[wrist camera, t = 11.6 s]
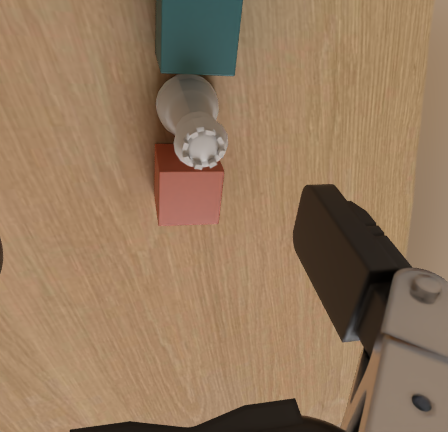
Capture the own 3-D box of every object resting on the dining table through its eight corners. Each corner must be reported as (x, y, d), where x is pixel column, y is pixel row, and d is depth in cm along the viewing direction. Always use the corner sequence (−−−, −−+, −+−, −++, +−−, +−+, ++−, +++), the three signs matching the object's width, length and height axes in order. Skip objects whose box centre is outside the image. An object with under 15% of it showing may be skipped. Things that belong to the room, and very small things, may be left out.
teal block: (155, -22, 26) (161, -13, 23) (227, -16, 27) (243, -6, 24) (155, 54, 29) (160, 73, 25) (220, 57, 30) (234, 76, 26)
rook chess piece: (145, 83, 30) (152, 129, 23) (206, 62, 30) (230, 101, 23) (168, 139, 32) (180, 194, 26) (223, 119, 32) (249, 169, 26)
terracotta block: (154, 143, 32) (159, 171, 29) (213, 143, 33) (224, 171, 30) (154, 194, 35) (158, 226, 31) (208, 193, 36) (218, 224, 32)
